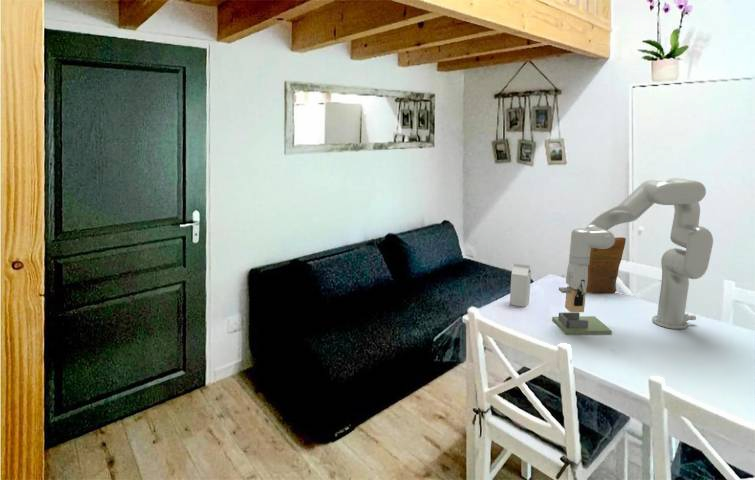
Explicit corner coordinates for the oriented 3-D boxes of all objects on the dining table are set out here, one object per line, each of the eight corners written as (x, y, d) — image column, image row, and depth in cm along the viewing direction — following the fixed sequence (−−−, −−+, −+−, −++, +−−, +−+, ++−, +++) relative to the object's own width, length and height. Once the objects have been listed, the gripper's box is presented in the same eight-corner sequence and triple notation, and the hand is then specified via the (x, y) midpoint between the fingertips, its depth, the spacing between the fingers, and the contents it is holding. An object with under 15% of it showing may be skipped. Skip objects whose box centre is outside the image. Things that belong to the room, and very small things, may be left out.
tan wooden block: (578, 307, 197) (580, 286, 195) (583, 312, 192) (586, 290, 190) (556, 307, 197) (558, 286, 195) (561, 312, 192) (563, 290, 190)
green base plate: (594, 319, 203) (595, 309, 202) (611, 334, 189) (612, 323, 188) (552, 320, 203) (552, 310, 202) (565, 334, 189) (566, 323, 188)
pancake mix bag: (623, 294, 234) (629, 238, 228) (584, 294, 234) (589, 238, 228) (616, 289, 241) (622, 235, 235) (578, 290, 241) (583, 235, 235)
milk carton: (525, 307, 218) (527, 267, 214) (509, 304, 222) (511, 265, 217) (529, 302, 224) (531, 263, 220) (513, 300, 227) (516, 261, 223)
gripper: (561, 254, 198) (557, 296, 202) (578, 265, 181) (574, 310, 185) (579, 254, 198) (575, 296, 202) (598, 265, 181) (593, 310, 185)
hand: (575, 302), depth 194 cm, fingers closed on tan wooden block, 5 cm apart
